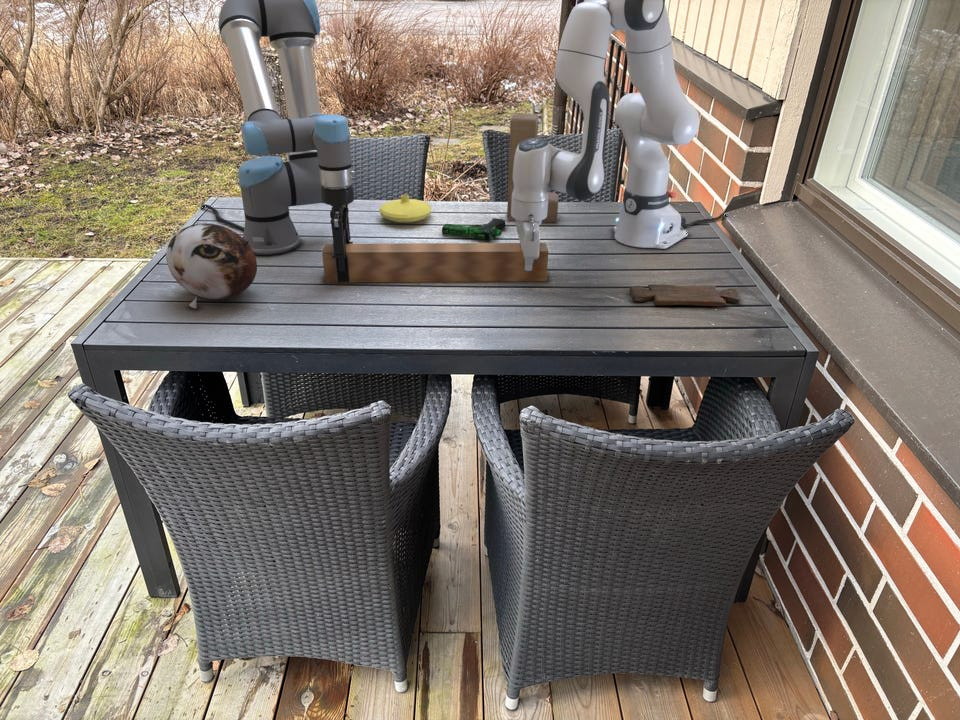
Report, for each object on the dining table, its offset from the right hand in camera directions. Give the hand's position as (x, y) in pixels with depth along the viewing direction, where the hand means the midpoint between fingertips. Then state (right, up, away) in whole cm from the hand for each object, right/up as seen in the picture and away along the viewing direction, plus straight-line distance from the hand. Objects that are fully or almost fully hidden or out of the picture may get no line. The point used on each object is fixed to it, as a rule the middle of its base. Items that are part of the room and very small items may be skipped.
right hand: (526, 262), depth 179 cm
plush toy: (-73, -9, -10) cm, 75 cm away
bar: (-22, -4, +1) cm, 23 cm away
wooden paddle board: (+38, -10, -8) cm, 40 cm away
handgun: (-13, +13, +29) cm, 34 cm away
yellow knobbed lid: (-34, +18, +37) cm, 54 cm away
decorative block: (+5, +19, +40) cm, 44 cm away
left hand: (-45, -3, 0) cm, 45 cm away
